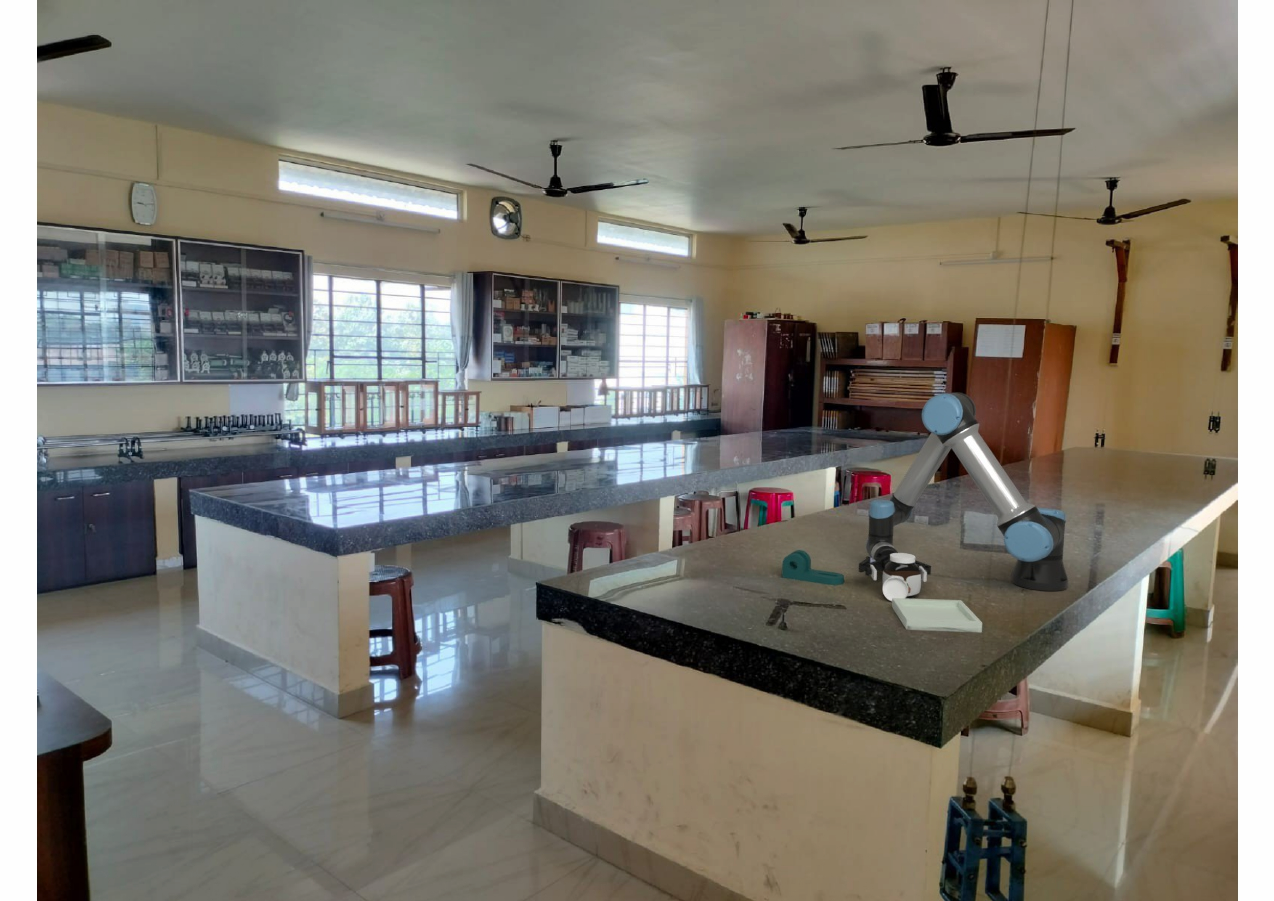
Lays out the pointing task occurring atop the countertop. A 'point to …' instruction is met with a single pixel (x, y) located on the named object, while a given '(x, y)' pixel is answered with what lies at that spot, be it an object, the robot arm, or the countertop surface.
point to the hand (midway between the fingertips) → (900, 576)
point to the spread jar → (901, 577)
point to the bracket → (807, 570)
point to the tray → (936, 615)
